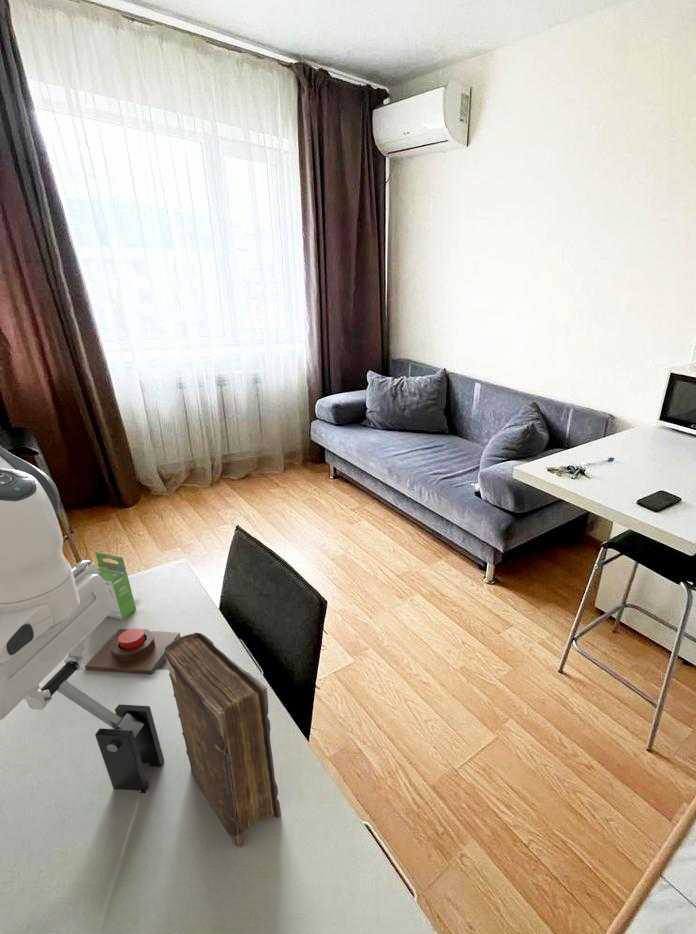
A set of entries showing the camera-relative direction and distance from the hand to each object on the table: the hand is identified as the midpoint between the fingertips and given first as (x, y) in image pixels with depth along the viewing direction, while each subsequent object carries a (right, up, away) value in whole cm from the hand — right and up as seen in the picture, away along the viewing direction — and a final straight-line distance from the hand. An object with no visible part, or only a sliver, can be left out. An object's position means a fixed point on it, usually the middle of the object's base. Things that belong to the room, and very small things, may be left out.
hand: (60, 685), depth 65 cm
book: (+20, -19, +7) cm, 28 cm away
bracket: (+6, -17, +8) cm, 20 cm away
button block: (-9, -6, +29) cm, 31 cm away
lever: (+2, -4, +2) cm, 5 cm away
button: (-8, -3, +28) cm, 29 cm away
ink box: (-20, -1, +41) cm, 45 cm away
